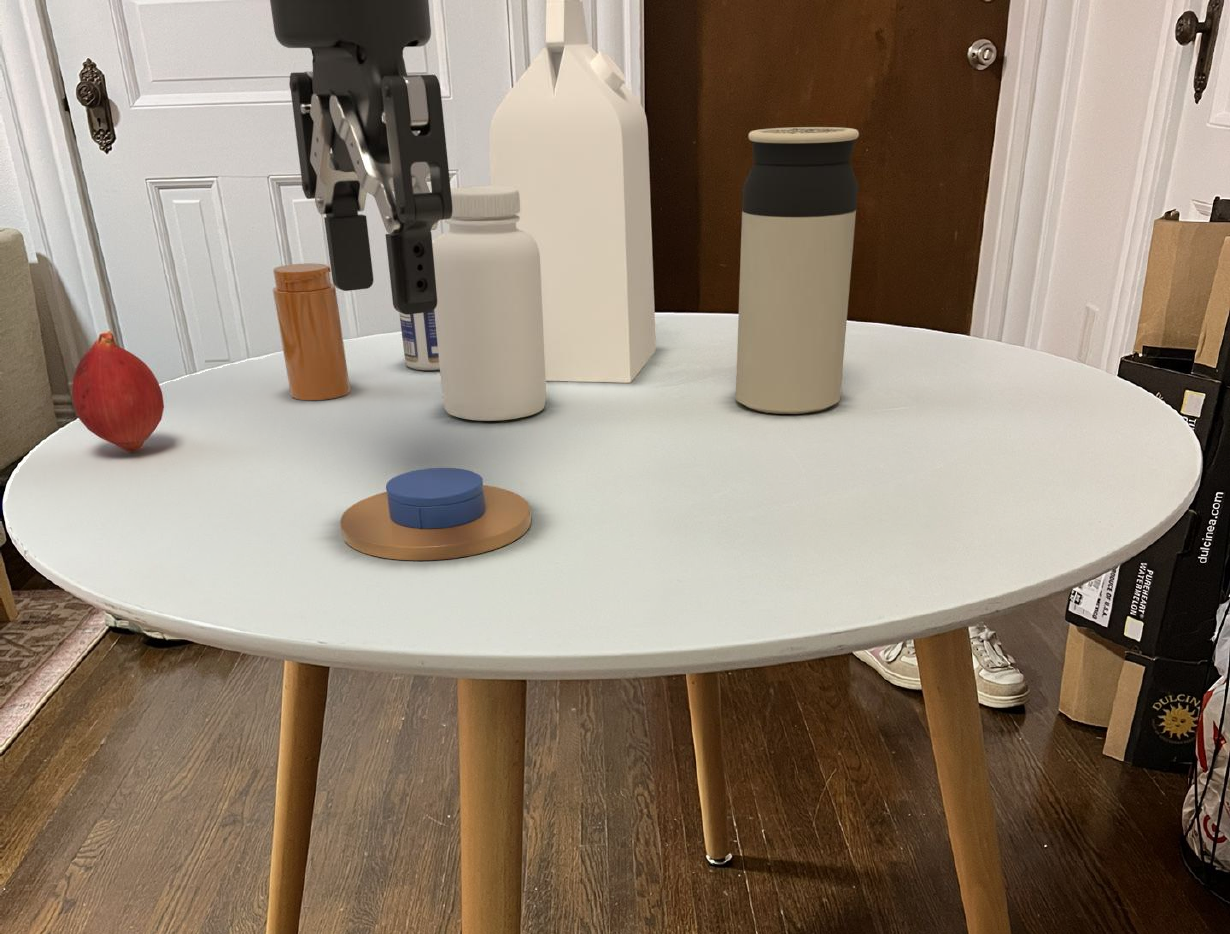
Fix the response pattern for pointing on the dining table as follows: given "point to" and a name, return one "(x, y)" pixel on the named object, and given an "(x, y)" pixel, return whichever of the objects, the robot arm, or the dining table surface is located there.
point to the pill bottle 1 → (420, 340)
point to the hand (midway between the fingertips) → (383, 299)
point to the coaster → (384, 538)
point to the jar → (310, 331)
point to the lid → (435, 498)
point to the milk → (582, 201)
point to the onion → (116, 395)
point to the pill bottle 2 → (489, 309)
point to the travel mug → (795, 268)
